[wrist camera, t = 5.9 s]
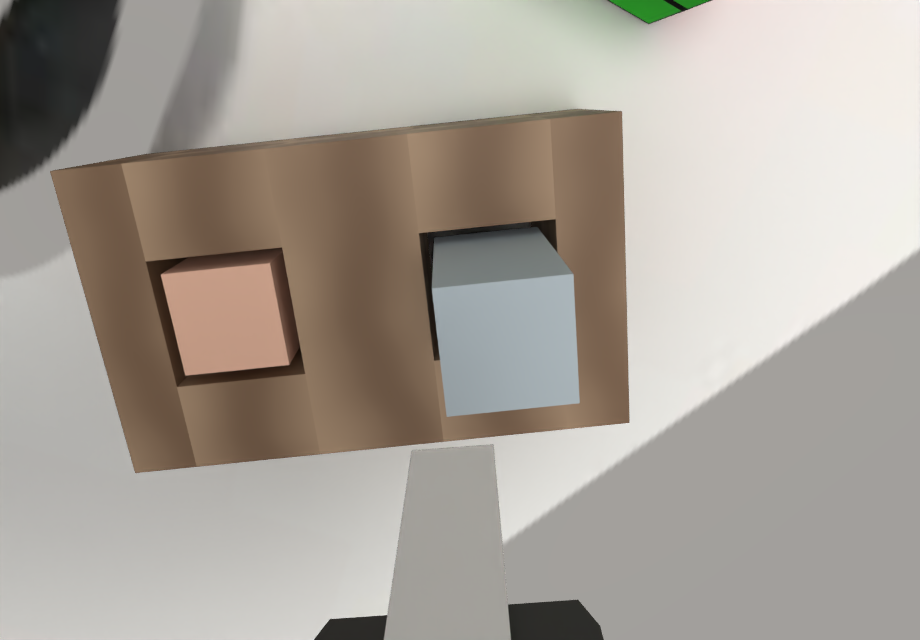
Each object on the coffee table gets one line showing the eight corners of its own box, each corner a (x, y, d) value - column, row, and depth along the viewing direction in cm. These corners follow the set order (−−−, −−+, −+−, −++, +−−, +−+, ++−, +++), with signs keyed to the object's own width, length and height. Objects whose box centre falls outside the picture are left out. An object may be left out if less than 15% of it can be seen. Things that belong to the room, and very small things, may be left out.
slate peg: (445, 334, 27) (446, 416, 20) (434, 237, 26) (431, 288, 19) (543, 324, 27) (579, 403, 20) (537, 226, 26) (573, 274, 19)
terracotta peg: (240, 316, 33) (185, 375, 26) (223, 235, 32) (160, 274, 25) (322, 307, 33) (289, 365, 26) (308, 226, 32) (269, 263, 25)
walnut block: (202, 391, 35) (134, 473, 27) (145, 154, 31) (50, 171, 24) (588, 352, 35) (629, 422, 27) (577, 109, 31) (621, 111, 23)
